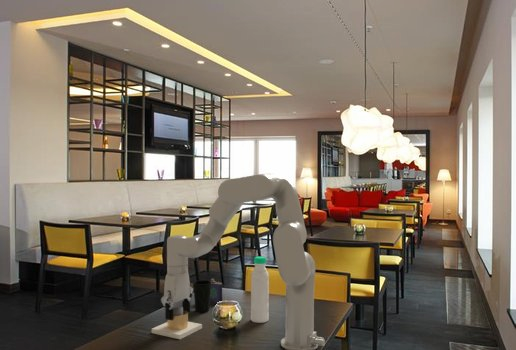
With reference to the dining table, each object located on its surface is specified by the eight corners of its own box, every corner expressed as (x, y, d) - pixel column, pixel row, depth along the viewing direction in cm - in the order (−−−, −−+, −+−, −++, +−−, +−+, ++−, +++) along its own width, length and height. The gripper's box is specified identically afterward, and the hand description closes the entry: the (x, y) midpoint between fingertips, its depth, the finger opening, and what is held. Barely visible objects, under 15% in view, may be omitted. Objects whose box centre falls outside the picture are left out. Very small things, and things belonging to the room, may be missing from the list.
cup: (189, 311, 191) (189, 283, 191) (199, 307, 198) (199, 279, 198) (204, 314, 187) (204, 285, 187) (214, 309, 194) (214, 281, 194)
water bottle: (266, 324, 176) (267, 259, 176) (249, 322, 178) (249, 258, 178) (270, 318, 183) (270, 255, 183) (252, 317, 185) (253, 255, 184)
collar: (191, 325, 170) (191, 311, 170) (179, 331, 164) (179, 317, 164) (176, 322, 174) (176, 308, 173) (163, 327, 167) (163, 314, 167)
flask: (201, 302, 204) (201, 278, 204) (203, 301, 207) (204, 277, 207) (221, 304, 202) (221, 280, 202) (223, 302, 205) (223, 278, 205)
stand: (202, 328, 171) (202, 305, 171) (180, 339, 160) (180, 315, 160) (174, 322, 178) (174, 300, 177) (151, 332, 166) (151, 309, 166)
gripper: (184, 264, 178) (184, 308, 178) (153, 273, 163) (154, 321, 163) (199, 266, 174) (200, 311, 174) (170, 275, 159) (170, 324, 159)
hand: (178, 315), depth 169 cm, fingers open, 9 cm apart
